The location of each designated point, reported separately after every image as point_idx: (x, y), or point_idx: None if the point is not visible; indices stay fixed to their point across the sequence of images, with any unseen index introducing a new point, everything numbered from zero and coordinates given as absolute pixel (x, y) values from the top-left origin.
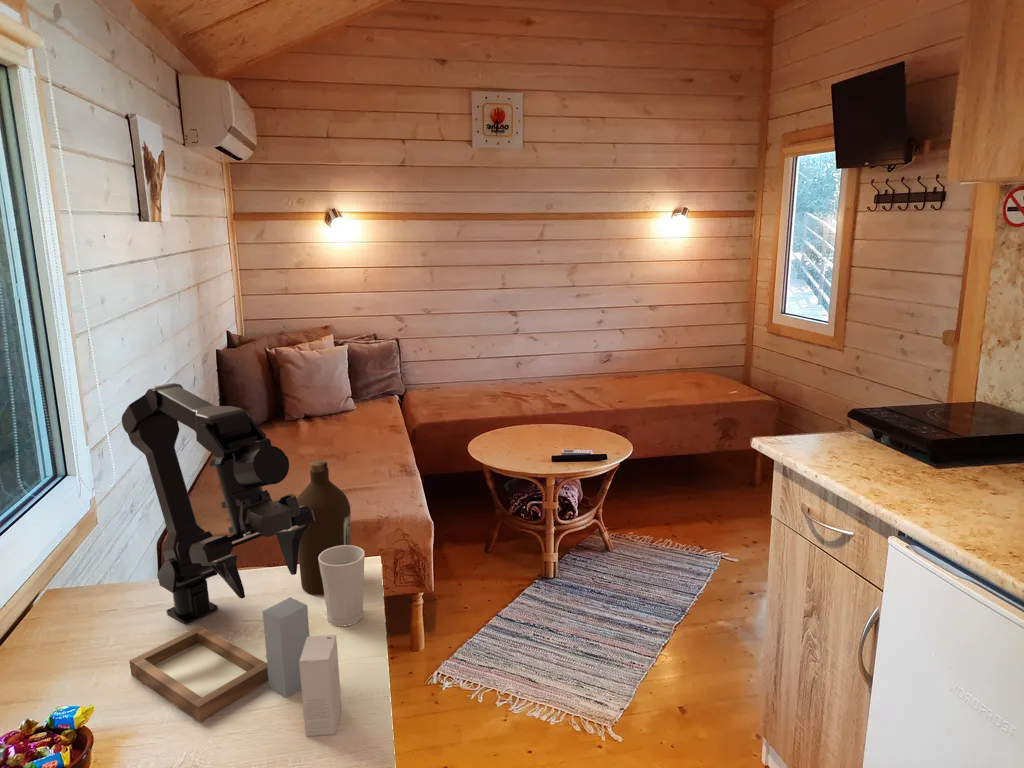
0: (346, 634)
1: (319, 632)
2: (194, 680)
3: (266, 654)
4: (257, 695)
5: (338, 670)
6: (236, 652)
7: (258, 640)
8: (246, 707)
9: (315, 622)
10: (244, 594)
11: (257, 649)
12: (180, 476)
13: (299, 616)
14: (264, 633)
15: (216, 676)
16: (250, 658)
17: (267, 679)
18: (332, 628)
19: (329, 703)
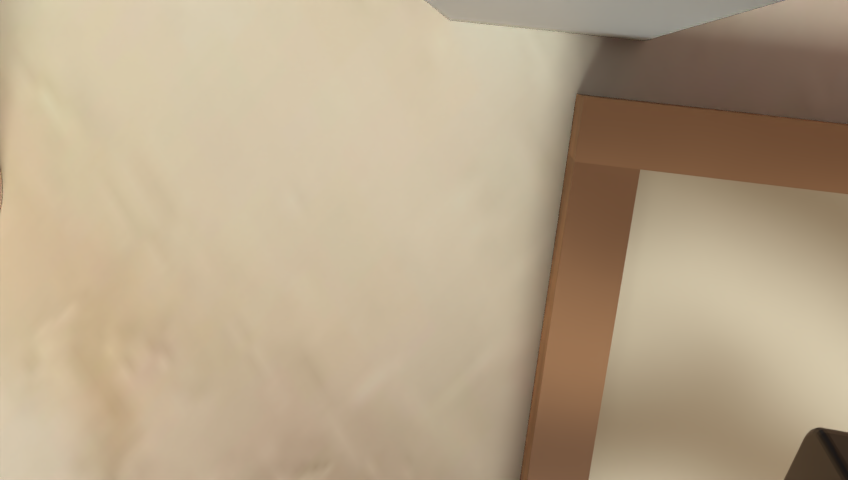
0: (21, 32)
1: (97, 195)
2: None
3: (693, 25)
4: (728, 50)
5: None
6: (583, 396)
7: (338, 445)
8: (844, 18)
9: (41, 290)
10: (844, 448)
11: (403, 386)
12: None
13: None
14: (748, 10)
15: (730, 376)
16: (588, 270)
17: (605, 97)
18: (26, 156)
19: None
